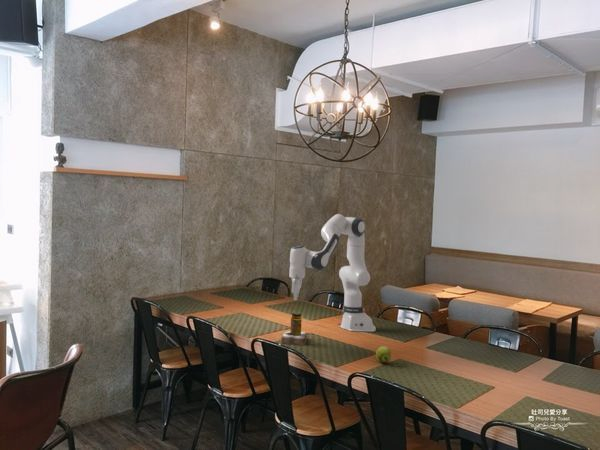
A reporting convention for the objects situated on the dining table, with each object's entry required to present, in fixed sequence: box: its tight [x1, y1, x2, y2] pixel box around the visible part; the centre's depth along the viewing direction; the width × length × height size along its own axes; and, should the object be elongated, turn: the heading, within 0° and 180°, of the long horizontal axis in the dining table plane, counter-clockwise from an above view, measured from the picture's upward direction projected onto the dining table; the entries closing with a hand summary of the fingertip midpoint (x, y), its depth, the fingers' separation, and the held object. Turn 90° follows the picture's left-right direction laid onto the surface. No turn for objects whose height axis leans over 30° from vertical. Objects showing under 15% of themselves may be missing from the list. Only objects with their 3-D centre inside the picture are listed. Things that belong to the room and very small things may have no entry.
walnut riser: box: [280, 330, 308, 346], centre depth 284 cm, size 13×13×4 cm
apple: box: [375, 345, 392, 364], centre depth 253 cm, size 8×9×8 cm
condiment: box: [285, 312, 303, 337], centre depth 282 cm, size 7×8×12 cm
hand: (296, 298), depth 283 cm, fingers open, 8 cm apart
